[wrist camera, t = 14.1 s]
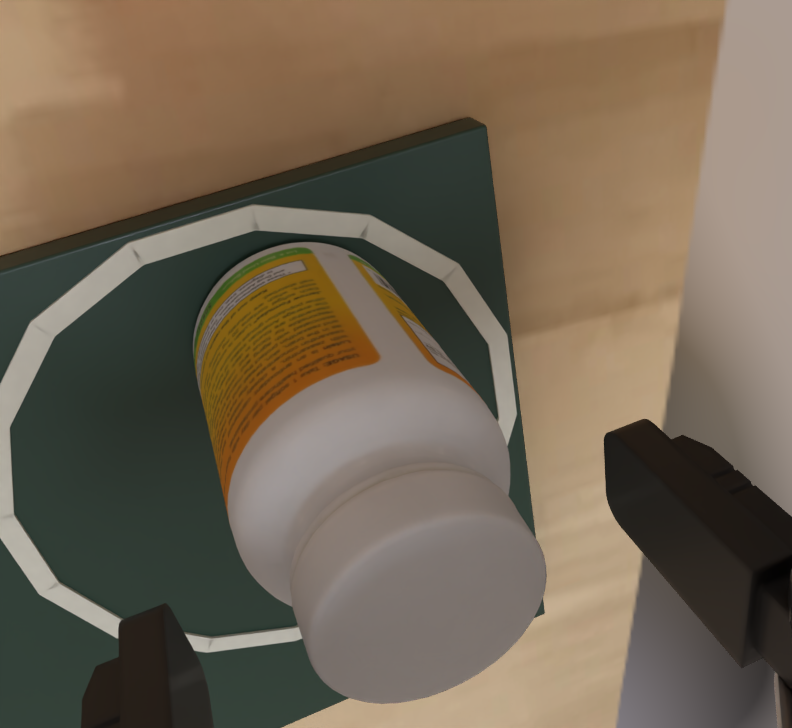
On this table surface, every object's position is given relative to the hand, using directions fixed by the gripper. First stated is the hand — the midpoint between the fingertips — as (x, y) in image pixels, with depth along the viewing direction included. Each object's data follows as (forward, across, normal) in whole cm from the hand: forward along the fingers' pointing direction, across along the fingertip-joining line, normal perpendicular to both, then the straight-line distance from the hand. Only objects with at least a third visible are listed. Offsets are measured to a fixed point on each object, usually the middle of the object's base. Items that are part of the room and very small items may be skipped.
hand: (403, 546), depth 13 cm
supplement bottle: (+8, 0, 0) cm, 8 cm away
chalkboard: (+9, +4, +6) cm, 11 cm away
